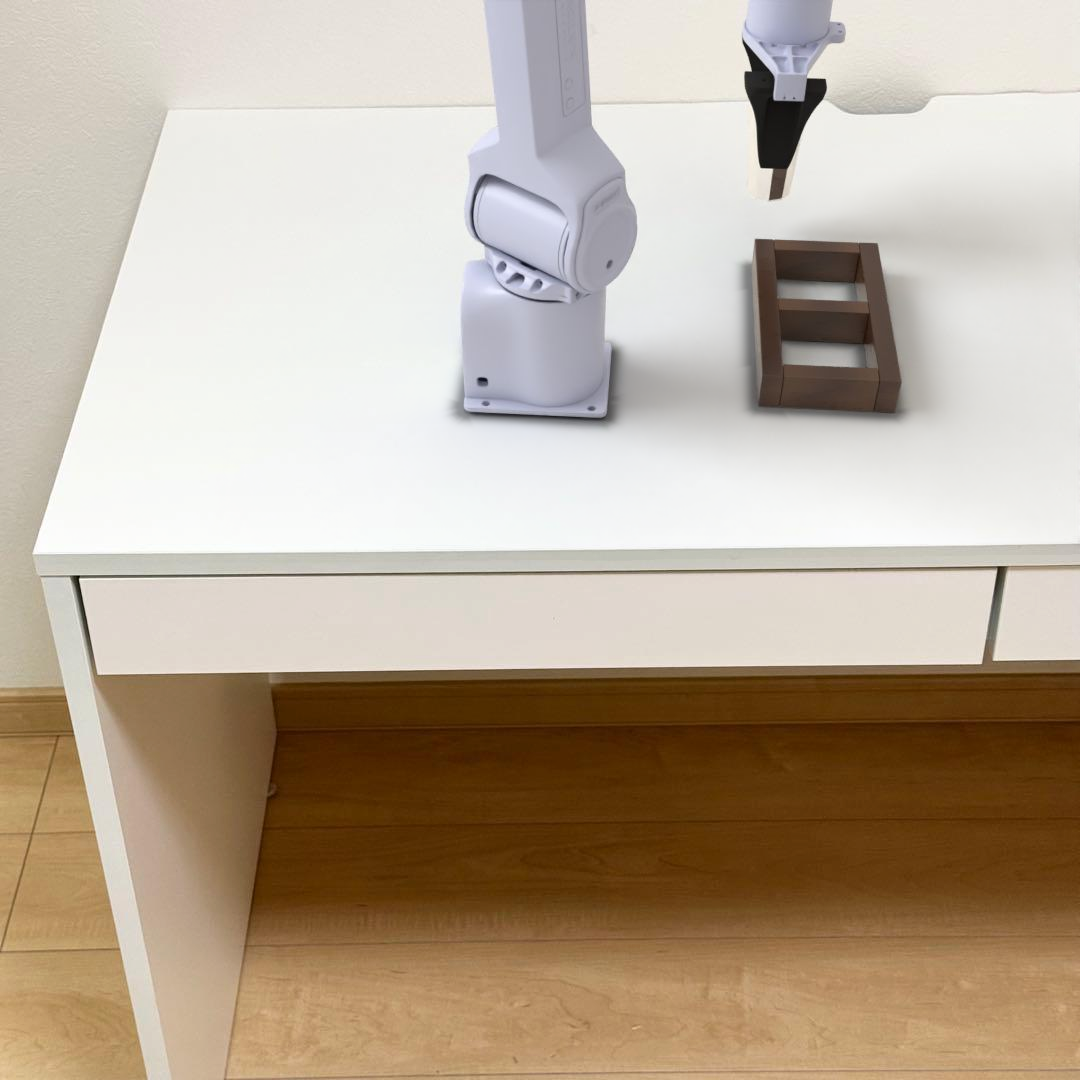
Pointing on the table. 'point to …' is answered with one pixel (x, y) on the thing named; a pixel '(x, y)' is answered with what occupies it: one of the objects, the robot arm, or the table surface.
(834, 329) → the rack
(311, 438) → the table surface
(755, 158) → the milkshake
